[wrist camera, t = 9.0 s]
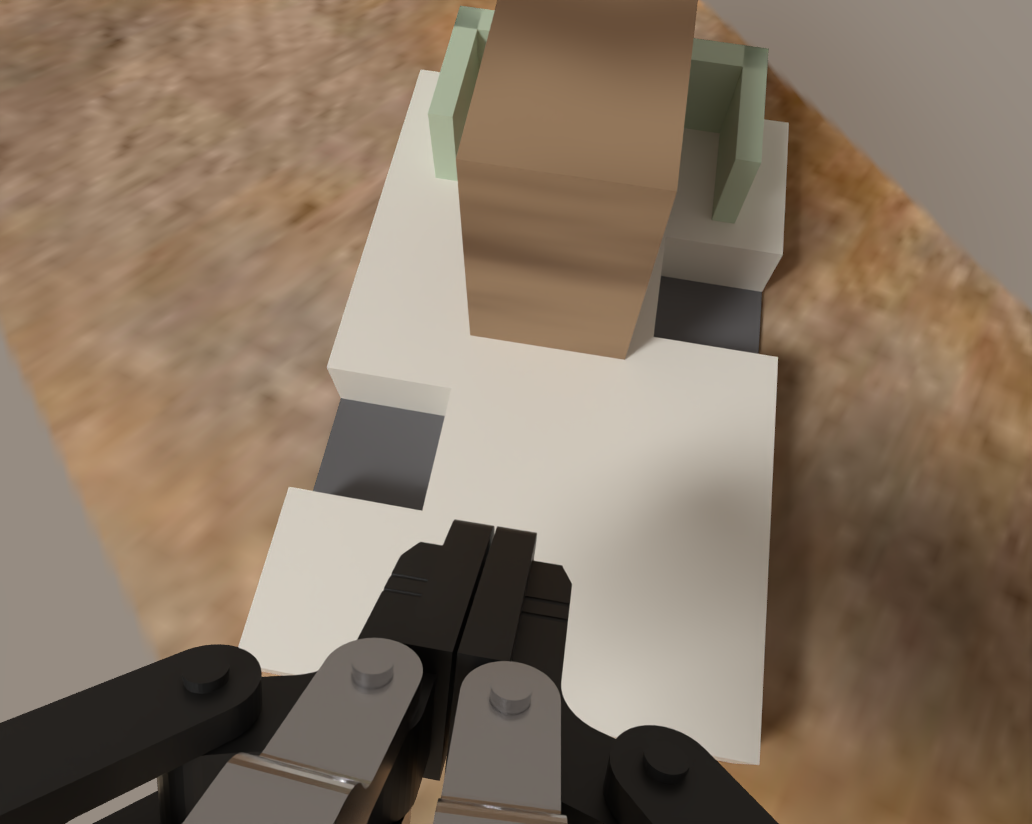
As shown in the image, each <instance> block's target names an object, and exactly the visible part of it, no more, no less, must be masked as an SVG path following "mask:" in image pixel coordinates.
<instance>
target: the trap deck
mask: <svg viewBox="0 0 1032 824" xmlns="http://www.w3.org/2000/svg"><path fill="white" fill-rule="evenodd" d="M493 15H494V10H487V9H480V8H473V7H466V6H460V8H459V12H458V15H457V18H456V22H455V25H454V28H453V31H452V35H451V38H450V41H449V45H448V48H447V51H446V55H445V58H444V61H443V65H442V68H441V71H440V72H434V71H427V70H421V71H420V74H419V77H418V80H417V83H416V86H415V90H414V93H413V96H412V99H411V102H410V105H409V109H408V112H407V115H406V118H405V121H404V124H403V128H402V131H401V134H400V137H399V140H398V143H397V147H396V150H395V153H394V156H393V159H392V162H391V166H390V169H389V172H388V175H387V178H386V181H385V185H384V188H383V191H382V194H381V197H380V200H379V204H378V207H377V210H376V213H375V216H374V219H373V223H372V226H371V229H370V232H369V235H368V238H367V242H366V245H365V248H364V251H363V254H362V257H361V261H360V264H359V267H358V270H357V273H356V276H355V280H354V283H353V286H352V289H351V292H350V295H349V299H348V302H347V305H346V308H345V311H344V314H343V318H342V321H341V324H340V327H339V330H338V333H337V337H336V340H335V343H334V346H333V349H332V352H331V356H330V359H329V362H328V365H327V369H328V371H329V373H330V375H331V378H332V380H333V382H334V384H335V386H336V388H337V390H338V393H339V395H340V397H341V400H340V403H339V407H338V410H337V413H336V417H335V420H334V423H333V427H332V430H331V433H330V436H329V440H328V443H327V446H326V450H325V453H324V456H323V460H322V463H321V466H320V470H319V473H318V476H317V480H316V483H315V486H314V490H313V491H310V490H304V489H298V488H293V487H289V488H288V492H287V495H286V498H285V501H284V504H283V507H282V511H281V514H280V517H279V520H278V523H277V526H276V530H275V533H274V536H273V539H272V542H271V545H270V549H269V552H268V555H267V558H266V561H265V564H264V568H263V571H262V574H261V577H260V580H259V583H258V587H257V590H256V593H255V596H254V599H253V602H252V606H251V609H250V612H249V615H248V618H247V621H246V625H245V628H244V631H243V634H242V637H241V640H240V644H239V648H241V649H244V650H246V651H248V652H249V653H251V654H252V655H253V656H254V657H255V658H256V659H257V660H258V662H259V664H260V667H261V671H262V672H267V673H272V674H277V675H282V676H287V675H300V674H307V673H312V672H316V671H318V670H319V668H320V667H321V666H322V664H323V663H324V661H325V660H326V658H327V657H328V656H329V655H330V654H331V653H332V652H333V651H334V650H335V649H337V648H338V647H340V646H342V645H344V644H346V643H348V642H351V641H355V640H357V639H358V637H359V635H360V633H361V631H362V629H363V627H364V625H365V623H366V621H367V619H368V617H369V616H370V614H371V612H372V610H373V608H374V606H375V604H376V602H377V600H378V598H379V596H380V594H381V592H382V591H383V590H384V587H385V585H386V583H387V581H388V579H389V577H390V576H391V574H392V571H393V569H394V567H395V565H396V563H397V561H398V559H399V558H400V556H401V555H402V554H403V553H405V552H406V551H407V550H409V549H410V548H412V547H413V546H415V545H416V544H418V543H419V542H425V543H431V544H437V545H443V543H444V541H445V539H446V536H447V534H448V532H449V529H450V527H451V525H452V523H453V521H454V520H455V519H456V520H462V521H468V522H474V523H480V524H486V525H492V526H494V527H495V531H496V528H497V526H499V527H505V528H512V529H518V530H524V531H530V532H536V533H537V540H536V548H535V555H534V561H539V562H545V563H551V564H557V565H562V566H563V568H564V570H565V572H566V574H567V575H568V577H569V579H570V581H571V583H572V590H571V599H570V608H569V617H568V626H567V635H566V644H565V653H564V662H563V672H562V681H561V689H562V694H563V697H564V699H565V701H566V703H567V705H568V706H569V708H570V709H571V710H572V711H573V713H574V714H575V715H576V716H577V717H578V718H580V719H581V720H582V721H583V722H585V723H586V724H587V725H589V726H590V727H592V728H594V729H596V730H598V731H600V732H602V733H604V734H607V735H609V736H611V737H613V738H615V739H616V738H617V737H618V736H619V735H620V734H621V733H623V732H624V731H626V730H628V729H630V728H633V727H637V726H643V725H657V726H664V727H667V728H671V729H674V730H677V731H679V732H682V733H684V734H685V735H687V736H689V737H691V738H692V739H694V740H695V741H697V742H698V743H699V744H700V745H701V746H702V747H704V748H705V749H706V750H707V751H708V752H709V753H710V754H711V755H712V756H713V757H714V758H715V759H716V760H719V761H724V762H729V763H737V764H753V765H759V763H760V741H761V719H762V698H763V676H764V654H765V632H766V610H767V589H768V567H769V545H770V523H771V501H772V480H773V458H774V436H775V414H776V392H777V370H778V357H774V356H768V355H762V354H758V351H759V334H760V316H761V299H762V291H763V289H764V287H765V286H766V284H767V282H768V280H769V278H770V277H771V275H772V273H773V271H774V270H775V268H776V266H777V264H778V262H779V261H780V259H781V257H782V255H783V240H784V218H785V196H786V174H787V152H788V131H789V123H786V122H779V121H772V120H765V119H764V112H765V96H766V80H767V65H768V49H767V48H760V47H753V46H745V45H738V44H731V43H724V42H717V41H710V40H702V39H695V38H694V39H693V48H692V57H691V67H690V76H689V85H688V94H687V104H686V113H685V122H684V131H683V141H682V150H681V159H680V168H679V178H678V187H677V193H676V196H675V199H674V203H673V206H672V209H671V212H670V216H669V219H668V222H667V225H666V228H665V232H664V235H663V238H662V241H661V245H660V248H659V251H658V254H657V258H656V261H655V264H654V267H653V270H652V274H651V277H650V280H649V283H648V287H647V290H646V293H645V296H644V299H643V303H642V306H641V309H640V312H639V316H638V319H637V322H636V325H635V328H634V332H633V335H632V338H631V341H630V345H629V348H628V351H627V354H626V358H625V360H623V359H617V358H610V357H604V356H598V355H591V354H585V353H579V352H572V351H566V350H560V349H553V348H547V347H541V346H534V345H528V344H522V343H515V342H509V341H503V340H496V339H490V338H484V337H477V336H471V335H470V327H469V315H468V303H467V290H466V278H465V266H464V254H463V242H462V229H461V217H460V205H459V193H458V180H457V168H456V156H457V153H458V149H459V145H460V141H461V137H462V134H463V130H464V126H465V122H466V118H467V114H468V111H469V107H470V103H471V99H472V95H473V92H474V88H475V84H476V80H477V76H478V72H479V69H480V65H481V61H482V57H483V53H484V50H485V46H486V42H487V38H488V34H489V30H490V27H491V23H492V19H493ZM494 534H495V532H494Z"/></svg>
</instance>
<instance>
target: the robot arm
mask: <svg viewBox="0 0 1032 824" xmlns="http://www.w3.org/2000/svg"><path fill="white" fill-rule="evenodd" d="M494 532H495V534H494ZM536 540H537V533H536V532H530V531H524V530H518V529H512V528H505V527H499V526H497V528H496V531H495V527H494V526H492V525H486V524H480V523H474V522H468V521H462V520H456V519H455V520H454V521H453V523H452V525H451V527H450V529H449V532H448V534H447V536H446V539H445V541H444V543H443V545H437V544H431V543H425V542H419V543H418V544H416V545H415V546H413V547H412V548H410V549H409V550H407V551H406V552H405V553H403V554H402V555H401V556H400V558H399V559H398V561H397V563H396V565H395V567H394V569H393V571H392V574H391V576H390V577H389V579H388V581H387V583H386V585H385V587H384V590H383V591H382V592H381V594H380V596H379V598H378V600H377V602H376V604H375V606H374V608H373V610H372V612H371V614H370V616H369V617H368V619H367V621H366V623H365V625H364V627H363V629H362V631H361V633H360V635H359V637H358V639H357V640H355V641H351V642H348V643H346V644H344V645H342V646H340V647H338V648H337V649H335V650H334V651H333V652H332V653H331V654H330V655H329V656H328V657H327V658H326V660H325V661H324V663H323V664H322V666H321V667H320V668H319V670H318V671H316V672H312V673H307V674H300V675H287V676H270V677H262V676H261V667H260V664H259V662H258V660H257V659H256V658H255V657H254V656H253V655H252V654H251V653H249V652H248V651H246V650H244V649H241V648H239V647H235V646H230V645H221V644H220V645H205V646H199V647H195V648H191V649H188V650H185V651H183V652H180V653H178V654H175V655H172V656H170V657H167V658H165V659H162V660H160V661H157V662H155V663H152V664H150V665H147V666H144V667H142V668H139V669H137V670H134V671H132V672H129V673H127V674H124V675H122V676H119V677H116V678H114V679H112V680H109V681H106V682H104V683H101V684H99V685H96V686H94V687H91V688H88V689H86V690H83V691H81V692H78V693H76V694H73V695H71V696H68V697H66V698H63V699H61V700H58V701H55V702H53V703H50V704H48V705H45V706H43V707H40V708H38V709H35V710H33V711H30V712H27V713H25V714H22V715H20V716H17V717H15V718H12V719H10V720H7V721H4V722H2V723H0V824H65V823H67V822H68V821H70V820H72V819H74V818H75V817H77V816H79V815H82V814H83V813H85V812H88V811H90V810H92V809H94V808H96V807H98V806H100V805H102V804H104V803H106V802H108V801H110V800H112V799H114V798H116V797H118V796H120V795H122V794H124V793H126V792H128V791H130V790H132V789H134V788H136V787H138V786H140V785H142V784H144V783H146V782H148V781H151V780H152V779H155V778H157V784H158V791H156V792H154V793H152V794H151V795H148V796H146V797H145V798H143V799H140V800H138V801H136V802H134V803H133V804H131V805H129V806H127V807H125V808H123V809H121V810H119V811H117V812H115V813H113V814H111V815H109V816H107V817H105V818H103V819H101V820H99V821H97V822H95V823H93V824H410V819H411V807H412V806H413V804H414V802H415V800H416V797H417V794H418V790H419V787H420V784H421V781H422V777H423V778H428V779H433V780H439V781H440V778H441V774H442V770H443V767H444V763H445V760H446V768H445V778H444V784H443V789H442V795H441V798H439V799H438V802H437V807H436V811H435V817H434V822H433V824H778V823H777V822H776V821H775V820H774V819H773V818H772V816H771V815H770V814H769V813H768V812H767V811H766V810H765V809H764V808H763V807H762V806H761V805H760V804H759V803H758V802H757V801H756V800H755V799H754V798H753V797H752V796H751V795H750V794H749V793H748V792H747V791H746V790H745V789H744V788H743V787H742V786H741V785H740V784H739V783H738V782H737V781H736V780H735V779H734V778H733V777H732V776H731V775H730V774H729V773H728V772H727V771H726V770H725V769H724V768H723V767H722V766H721V765H720V764H719V763H718V761H717V760H716V759H715V758H714V757H713V756H712V755H711V754H710V753H709V752H708V751H707V750H706V749H705V748H704V747H702V746H701V745H700V744H699V743H698V742H697V741H695V740H694V739H692V738H691V737H689V736H687V735H685V734H684V733H682V732H679V731H677V730H674V729H671V728H667V727H664V726H657V725H643V726H637V727H633V728H630V729H628V730H626V731H624V732H623V733H621V734H620V735H619V736H618V737H617V738H616V739H615V738H613V737H611V736H609V735H607V734H604V733H602V732H600V731H598V730H596V729H594V728H592V727H590V726H589V725H587V724H586V723H585V722H583V721H582V720H581V719H580V718H578V717H577V716H576V715H575V714H574V713H573V711H572V710H571V709H570V708H569V706H568V705H567V703H566V701H565V699H564V697H563V694H562V689H561V681H562V672H563V662H564V653H565V644H566V635H567V626H568V617H569V608H570V599H571V590H572V583H571V581H570V579H569V577H568V575H567V574H566V572H565V570H564V568H563V566H562V565H557V564H551V563H545V562H539V561H534V555H535V548H536ZM446 756H447V758H446Z"/></svg>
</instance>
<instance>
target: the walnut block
mask: <svg viewBox="0 0 1032 824" xmlns="http://www.w3.org/2000/svg"><path fill="white" fill-rule="evenodd" d="M697 2H698V0H497V4H496V8H495V11H494V15H493V19H492V23H491V27H490V30H489V34H488V38H487V42H486V46H485V50H484V53H483V57H482V61H481V65H480V69H479V72H478V76H477V80H476V84H475V88H474V92H473V95H472V99H471V103H470V107H469V111H468V114H467V118H466V122H465V126H464V130H463V134H462V137H461V141H460V145H459V149H458V153H457V156H456V168H457V180H458V193H459V205H460V217H461V229H462V242H463V254H464V266H465V278H466V290H467V303H468V315H469V327H470V335H471V336H477V337H484V338H490V339H496V340H503V341H509V342H515V343H522V344H528V345H534V346H541V347H547V348H553V349H560V350H566V351H572V352H579V353H585V354H591V355H598V356H604V357H610V358H617V359H623V360H625V358H626V354H627V351H628V348H629V345H630V341H631V338H632V335H633V332H634V328H635V325H636V322H637V319H638V316H639V312H640V309H641V306H642V303H643V299H644V296H645V293H646V290H647V287H648V283H649V280H650V277H651V274H652V270H653V267H654V264H655V261H656V258H657V254H658V251H659V248H660V245H661V241H662V238H663V235H664V232H665V228H666V225H667V222H668V219H669V216H670V212H671V209H672V206H673V203H674V199H675V196H676V193H677V187H678V178H679V168H680V159H681V150H682V141H683V131H684V122H685V113H686V104H687V94H688V85H689V76H690V67H691V57H692V48H693V39H694V30H695V20H696V11H697Z"/></svg>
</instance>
